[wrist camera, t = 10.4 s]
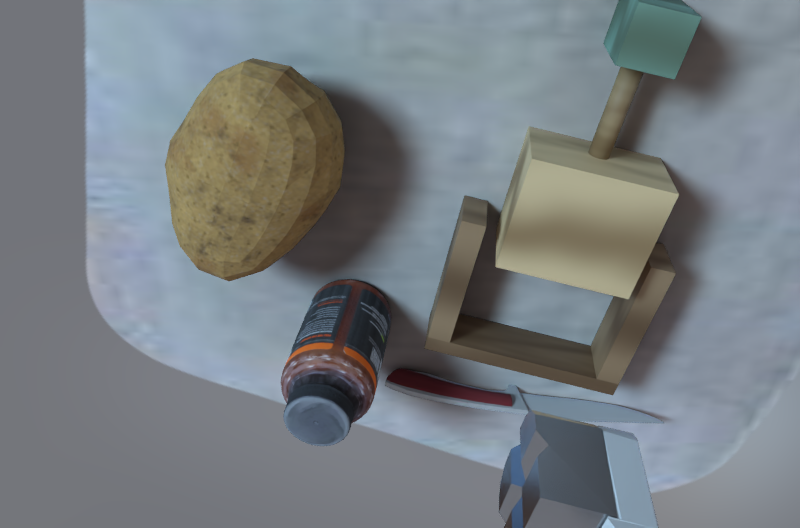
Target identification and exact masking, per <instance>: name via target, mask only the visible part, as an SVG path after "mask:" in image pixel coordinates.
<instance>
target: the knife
mask: <svg viewBox="0 0 800 528" xmlns="http://www.w3.org/2000/svg"><path fill="white" fill-rule="evenodd" d="M385 386H387V387H389V388H391V389H394V390H396V391H399V392H402V393H405V394H407V395H411V396H415V397H419V398H423V399H427V400H431V401H436V402H442V403H447V404H453V405H458V406H464V407H471V408H477V409H484V410H492V411H499V412H507V413H516V414H524V415H527V414H528V412H529V411H530V410H534V411H538V412H543V413H547V414H551V415H555V416H559V417H563V418H567V419H572V420H576V421H583V422H630V423H664V422H662V421H660V420H659V419H657V418H654V417H652V416H650V415H647V414H645V413H642V412H639V411H636V410H632V409H629V408H625V407H621V406H617V405H613V404H607V403H600V402H594V401H586V400H579V399H572V398H559V397H550V396H541V395H533V394H524V393H519V391H518V389H517V386H515V385H509V386H508V388H507V390H504V391H495V390H486V389H481V388H476V387H472V386H467V385H463V384H460V383H456V382H452V381H448V380H445V379H442V378H440V377H437V376H434V375H431V374H428V373H423V372H416V371H411V370H408V369H403V368H400V369H396V370H395V371H393V372H392V373H391V374H390V375H389V376H388V377H387V379H386V382H385Z"/></svg>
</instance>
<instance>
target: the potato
mask: <svg viewBox="0 0 800 528" xmlns="http://www.w3.org/2000/svg"><path fill="white" fill-rule="evenodd" d="M344 154H345V148H344V139H343V130H342V122H341V120H340V118H339V117H338V115H337V113H336V111H335V109H334V108H333V106H332V104H331V102H330V101H329V99H328V97H327V95H326V93H325V92H324V90H322V89H320V88H319V87H317V86H316V85H314V84H312V83H311V82H309V81H308V80H307V79H305V78H304V77H303V76H302V75H301V74H299V73H298V72H297V71H296V70H295V69H293V68H292V67H291V66H286V65H282V64H277V63H272V62H268V61H263V60H258V59H254V58H253V59H250V60H247V61H244V62H242V63H239V64H237V65H235V66H232V67H230V68H228V69H225V70H223V71H221V72H219V73H217V74H216V75H215V76H214V77H213V79H212V80H211V81H210V82H209V83H208V85H207V86H206V87H205V88H204V89H203V91H202V92H201V93H200V94H199V96H198V97H197V99H196V100H195V102H194V104H193V106H192V107H191V109H190V111H189V112H188V114H187V116H186V118H185V119H184V121H183V123H182V124H181V126H180V127H179V129H178V130H177V131H176V133H175V134H174V136H173V137H172V139H171V140H170V145H169V149H168V154H167V159H166V163H165V168H166V175H167V181H168V188H169V196H170V205H171V215H172V224H173V227H174V230H175V233H176V236H177V239H178V242H179V245H180V247H181V248H182V249H183V250H184V252H185V253H186V254H187V256H188V257H189V258H190V259H191V261H192V262H193V263H194V265H195V266H196V267H197V268H198V269H199V270H201V271H204V272H206V273H209V274H211V275H214V276H217V277H219V278H222V279H224V280H227V281H232V280H235V279H238V278H241V277H245V276H248V275H251V274H254V273H257V272H261V271H263V270H265V269H266V268H268V267H269V266H271V265H272V264H273V263H275V262H276V261H277V260H279V259H280V258H281V257H282V256H284V255H285V254H286V253H288V252H289V251H290V250H292V249H293V248H294V247H295V246H296V245H297V244H298V242H299V241H300V240H301V239H302V238H303V237H304V236H305V235H306V234H307V233H308V232H309V231H310V229H311V228H312V227H313V226H314V225H315V224H316V222H317V221H318V220H319V218H320V217H321V216H322V214H323V213H324V212H325V210H326V209H327V207H328V206H329V204H330V202H331V201H332V199H333V198H334V196H335V194H336V193H337V191H338V190H339V188H340V184H341V177H342V170H343V162H344Z"/></svg>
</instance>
